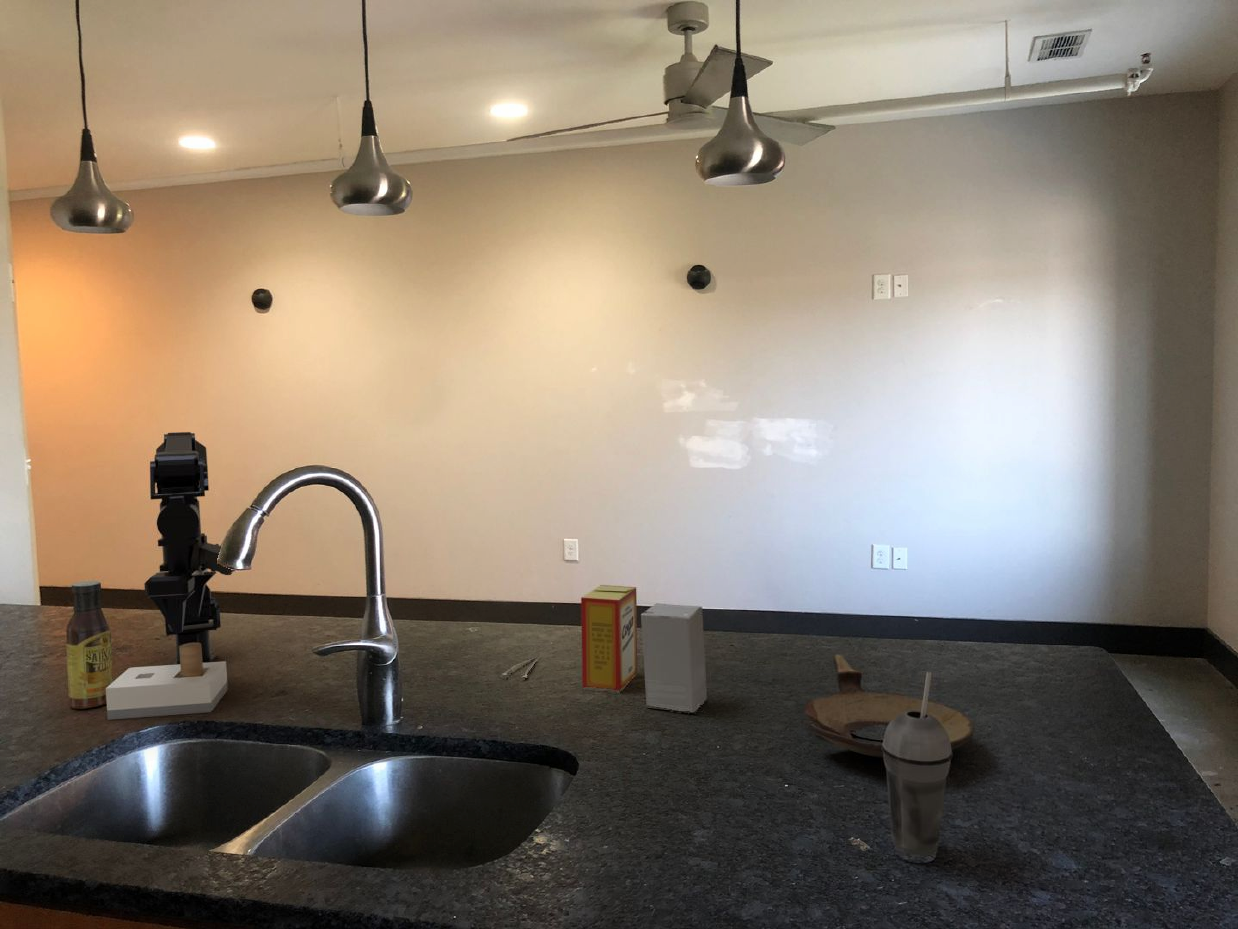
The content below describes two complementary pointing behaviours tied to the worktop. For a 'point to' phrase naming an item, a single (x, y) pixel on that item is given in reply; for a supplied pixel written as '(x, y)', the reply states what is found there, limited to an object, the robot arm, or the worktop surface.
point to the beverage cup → (916, 777)
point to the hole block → (165, 691)
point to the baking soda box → (609, 636)
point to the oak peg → (191, 660)
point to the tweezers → (519, 666)
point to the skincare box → (674, 657)
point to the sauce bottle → (88, 648)
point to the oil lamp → (873, 713)
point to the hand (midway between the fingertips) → (187, 624)
